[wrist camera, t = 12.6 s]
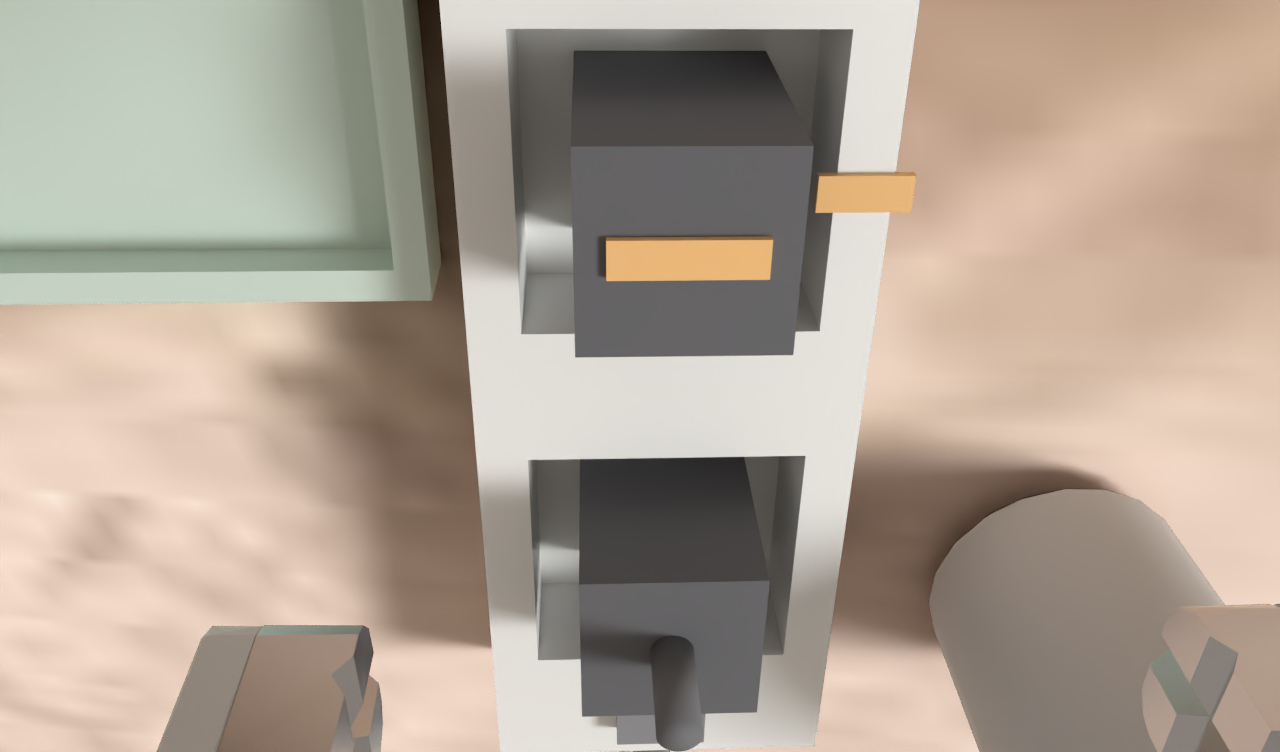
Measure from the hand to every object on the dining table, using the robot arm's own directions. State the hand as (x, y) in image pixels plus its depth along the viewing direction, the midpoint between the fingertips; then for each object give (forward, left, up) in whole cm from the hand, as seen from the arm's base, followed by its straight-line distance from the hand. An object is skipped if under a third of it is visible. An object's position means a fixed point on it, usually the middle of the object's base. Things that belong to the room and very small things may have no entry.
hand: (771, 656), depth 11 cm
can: (+14, +12, -17) cm, 25 cm away
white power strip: (+8, 0, -17) cm, 19 cm away
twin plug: (+10, 0, -16) cm, 19 cm away
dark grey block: (0, 0, -16) cm, 16 cm away
